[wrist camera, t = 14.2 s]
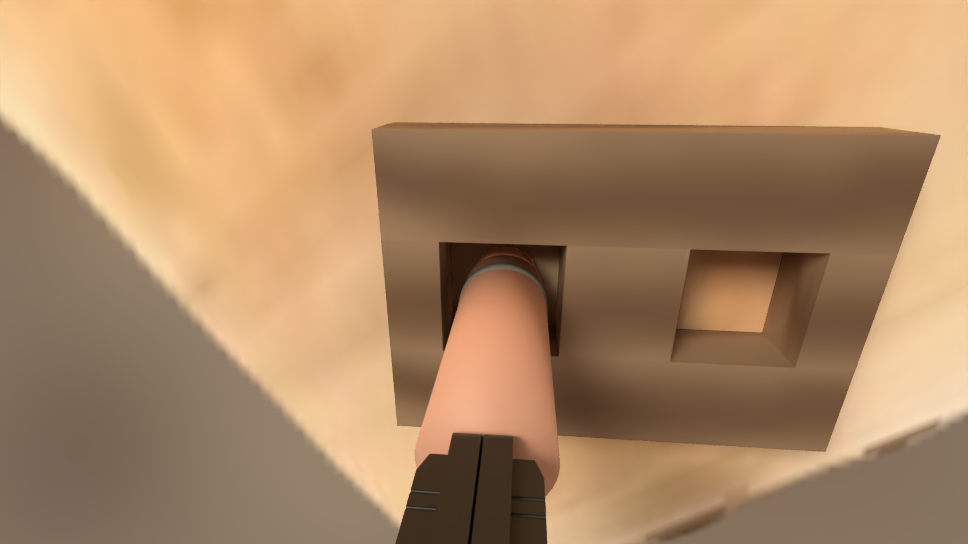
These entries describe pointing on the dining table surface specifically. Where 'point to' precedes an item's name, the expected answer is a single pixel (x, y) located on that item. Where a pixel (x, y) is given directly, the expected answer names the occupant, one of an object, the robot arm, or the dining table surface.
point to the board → (656, 263)
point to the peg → (497, 365)
